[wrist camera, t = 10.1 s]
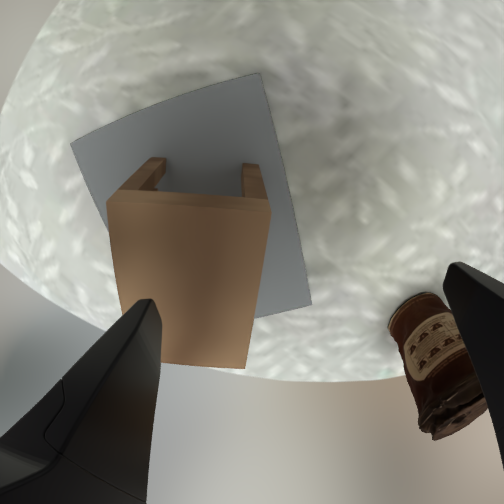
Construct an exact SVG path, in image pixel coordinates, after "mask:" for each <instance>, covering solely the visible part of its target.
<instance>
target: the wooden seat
mask: <svg viewBox="0 0 504 504" xmlns="http://www.w3.org/2000/svg"><path fill="white" fill-rule="evenodd" d="M165 173H166V158H161V157H150V158H149V159H148V160H147V161H146V162H145V163H144V164H143V165H142V166H141V167H140V168H139V169H138V170H137V171H136V172H135V173H133V174H132V175H131V176H130V177H129V178H128V179H127V180H126V181H125V182H124V183H123V184H122V185H121V186H120V187H119V188H118V189H117V190H116V191H115V192H114V193H113V195H112V196H111V197H110V198H109V199H108V200H107V201H106V209H107V219H108V228H109V237H110V245H111V252H112V259H113V266H114V272H115V278H116V284H117V289H118V295H119V300H120V305H121V310H122V315H123V314H124V313H125V312H126V311H127V310H128V309H129V308H130V307H131V306H133V305H134V304H135V303H136V302H137V301H138V300H139V299H149V298H151V299H153V300H154V302H155V304H156V306H157V309H158V312H159V314H160V317H161V319H162V345H161V363H170V364H180V365H190V366H202V367H217V368H235V369H245V366H246V360H247V355H248V349H249V344H250V338H251V332H252V327H253V321H254V315H255V309H256V304H257V298H258V292H259V286H260V280H261V274H262V269H263V263H264V257H265V251H266V245H267V239H268V233H269V227H270V220H271V214H272V212H271V208H270V204H269V201H268V197H267V193H266V189H265V186H264V182H263V178H262V175H261V171H260V167H259V164H249V163H243V164H242V172H241V190H242V197H234V196H222V195H209V194H195V193H179V192H162V191H158V188H155V187H156V185H157V184H158V182H159V181H160V180H161V178H162V177H163V176H164V174H165Z"/></svg>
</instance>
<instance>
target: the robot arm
mask: <svg viewBox="0 0 504 504" xmlns="http://www.w3.org/2000/svg"><path fill="white" fill-rule="evenodd" d="M443 291H444V293H445V296H446V299H447V301H448V304H449V306H450V309H451V312H452V315H453V317H454V320H455V323H456V326H457V328H458V331H459V333H460V336H461V338H462V340H463V342H464V345H465V347H466V349H467V352H468V354H469V357H470V359H471V362H472V364H473V367H474V369H475V372H476V374H477V377H478V380H479V383H480V385H481V388H482V391H483V394H484V397H485V400H486V403H487V406H488V409H489V413H490V416H491V419H492V423H493V426H494V430H495V433H496V438H497V442H498V446H499V450H500V454H501V459H502V464H503V469H504V283H502V282H500V281H498V280H496V279H494V278H492V277H490V276H488V275H487V274H485V273H483V272H481V271H479V270H477V269H475V268H473V267H471V266H469V265H467V264H465V263H463V262H454V263H451V264H450V265H449V267H448V270H447V273H446V276H445V279H444V282H443ZM161 345H162V319H161V317H160V314H159V312H158V309H157V306H156V304H155V302H154V300H153V299H151V298H149V299H139V300H138V301H137V302H136V303H135V304H134V305H133V306H131V307H130V308H129V309H128V310H127V311H126V312H125V313H124V314H123V315H122V316H121V317H120V318H119V319H118V320H117V321H116V322H115V323H114V324H113V325H112V326H111V327H110V328H109V329H108V330H107V331H106V332H105V333H104V334H103V336H101V337H100V338H99V339H98V340H97V341H96V343H95V344H94V345H93V346H92V347H91V348H90V349H89V350H88V351H87V352H86V353H85V354H84V355H83V356H82V357H81V358H80V359H79V360H78V361H77V362H76V363H75V364H74V365H73V366H72V367H71V368H70V370H69V371H68V372H67V373H66V374H65V375H64V376H63V377H62V379H60V380H59V381H58V382H57V383H56V384H55V386H54V387H53V388H52V389H51V390H50V391H49V392H48V393H47V394H46V395H45V396H44V397H43V398H42V399H41V400H40V401H39V402H38V403H37V404H36V405H35V406H34V407H33V408H32V409H31V410H30V411H29V412H28V413H26V414H25V415H24V416H23V417H22V418H21V419H20V420H19V421H18V422H17V423H16V424H15V425H14V426H12V427H11V428H10V429H9V430H8V431H7V432H6V433H5V434H4V435H3V436H2V437H0V504H146V498H147V485H148V472H149V471H148V470H149V460H150V450H151V441H152V432H153V423H154V414H155V408H156V400H157V392H158V386H159V379H160V369H161V368H160V367H161Z"/></svg>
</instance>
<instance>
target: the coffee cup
mask: <svg viewBox="0 0 504 504" xmlns="http://www.w3.org/2000/svg"><path fill="white" fill-rule="evenodd" d="M388 330H389V331H390V334H391V336H392V337H393V338H394V340H395V341H396V342H397V344H398V347H399V352H400V354H401V357H402V360H403V363H404V371H405V374H406V378H407V382H408V384H409V386H410V388H411V392H412V394H413V396H414V399H415V402H416V405H417V408H418V413H419V418H418V425H419V429H421V431H422V432H425V433H431V434H432V440H434V441H435V440H439V439H442V438H444V437H446V436H449V435H452V434H453V433H455V432H457V431H459V430H461V429H462V428H464V427H466V426H467V425H469V424H470V423H471V422H472V421H474V420H475V419H476V418H477V417H479V416H480V415H481V414H483V413H484V412H485V411H486V410H487V408H488V406H487V403H486V400H485V397H484V394H483V391H482V388H481V385H480V383H479V380H478V377H477V374H476V372H475V369H474V367H473V364H472V362H471V359H470V357H469V354H468V352H467V349H466V347H465V345H464V342H463V340H462V338H461V336H460V333H459V331H458V328H457V326H456V323H455V320H454V317H453V315H452V312H451V310H450V309H449V308H447V306H446V305H445V304H444V303H443V301H442V300H441V299H440V297H438V296H437V295H435V294H433V293H424V294H421V295H418V296H416V297H414V298H412V299H410V300H409V301H407V302H406V303H405V304H404V305H402V306H401V307H400V308H399V309H398V310H397V312H396V313H395V314H394V316H393V317H392V318H391V321H390V324H389V326H388Z"/></svg>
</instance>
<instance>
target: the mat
mask: <svg viewBox="0 0 504 504" xmlns="http://www.w3.org/2000/svg"><path fill="white" fill-rule="evenodd" d="M70 145H71V147H72V150H73V153H74V155H75V158H76V160H77V163H78V165H79V168H80V170H81V173H82V175H83V177H84V180H85V182H86V184H87V187H88V189H89V191H90V193H91V196H92V198H93V200H94V202H95V205H96V207H97V209H98V211H99V213H100V215H101V217H102V219H103V222H104V224H105V226H106V228H107V230H108V232H109V228H108V219H107V209H106V201H107V200H108V199H109V198H110V197H111V196H112V195H113V193H114V192H115V191H116V190H117V189H118V188H119V187H120V186H121V185H122V184H123V183H124V182H125V181H126V180H127V179H128V178H129V177H130V176H131V175H132V174H133V173H135V172H136V171H137V170H138V169H139V168H140V167H141V166H142V165H143V164H144V163H145V162H146V161H147V160H148V159H149V158H150V157H161V158H166V173H165V174H164V176H163V177H162V178H161V180H160V181H159V182H158V184H157V185H156V187H155V188H158V191H162V192H179V193H195V194H209V195H222V196H234V197H242V190H241V172H242V164H243V163H249V164H259V167H260V171H261V175H262V178H263V182H264V186H265V189H266V193H267V197H268V201H269V204H270V208H271V212H272V214H271V220H270V227H269V233H268V239H267V245H266V251H265V257H264V263H263V269H262V274H261V280H260V286H259V292H258V298H257V304H256V309H255V315H254V319H255V318H259V317H264V316H268V315H273V314H277V313H281V312H285V311H290V310H294V309H298V308H302V307H306V306H310V305H312V301H311V296H310V290H309V285H308V279H307V274H306V269H305V264H304V259H303V253H302V248H301V243H300V239H299V234H298V229H297V224H296V219H295V215H294V210H293V205H292V201H291V196H290V192H289V187H288V183H287V179H286V174H285V170H284V166H283V162H282V157H281V153H280V149H279V145H278V141H277V137H276V133H275V129H274V125H273V121H272V117H271V113H270V110H269V106H268V102H267V98H266V95H265V91H264V87H263V84H262V80H261V76H260V73H256V74H252V75H248V76H244V77H240V78H236V79H232V80H228V81H225V82H221V83H218V84H214V85H211V86H208V87H204V88H201V89H198V90H195V91H192V92H189V93H186V94H183V95H180V96H177V97H174V98H171V99H168V100H166V101H163V102H160V103H158V104H155V105H153V106H150V107H147V108H145V109H142V110H140V111H138V112H135V113H133V114H130V115H128V116H126V117H124V118H121V119H119V120H117V121H115V122H112V123H110V124H108V125H106V126H104V127H102V128H100V129H98V130H96V131H94V132H92V133H90V134H88V135H86V136H84V137H82V138H80V139H78V140H76V141H74V142H72V143H70Z"/></svg>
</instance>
